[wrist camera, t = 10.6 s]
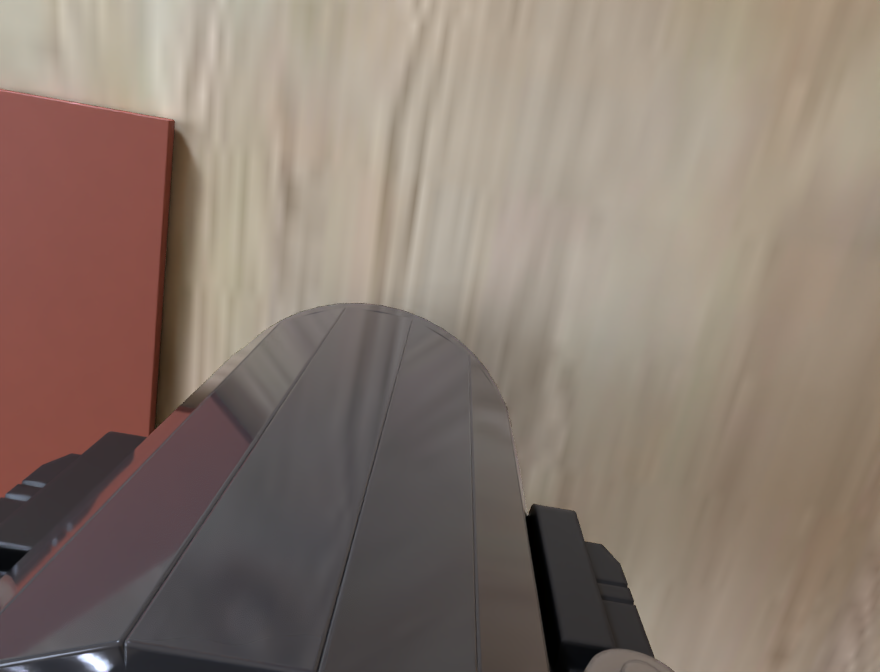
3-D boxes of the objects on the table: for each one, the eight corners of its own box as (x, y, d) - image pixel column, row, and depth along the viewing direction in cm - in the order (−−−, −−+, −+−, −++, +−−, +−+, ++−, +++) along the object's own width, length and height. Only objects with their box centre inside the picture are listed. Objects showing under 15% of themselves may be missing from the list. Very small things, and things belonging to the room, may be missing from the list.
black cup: (542, 332, 14) (705, 737, 5) (482, 605, 16) (511, 1304, 7) (221, 276, 14) (-280, 576, 5) (196, 558, 16) (-204, 1197, 6)
